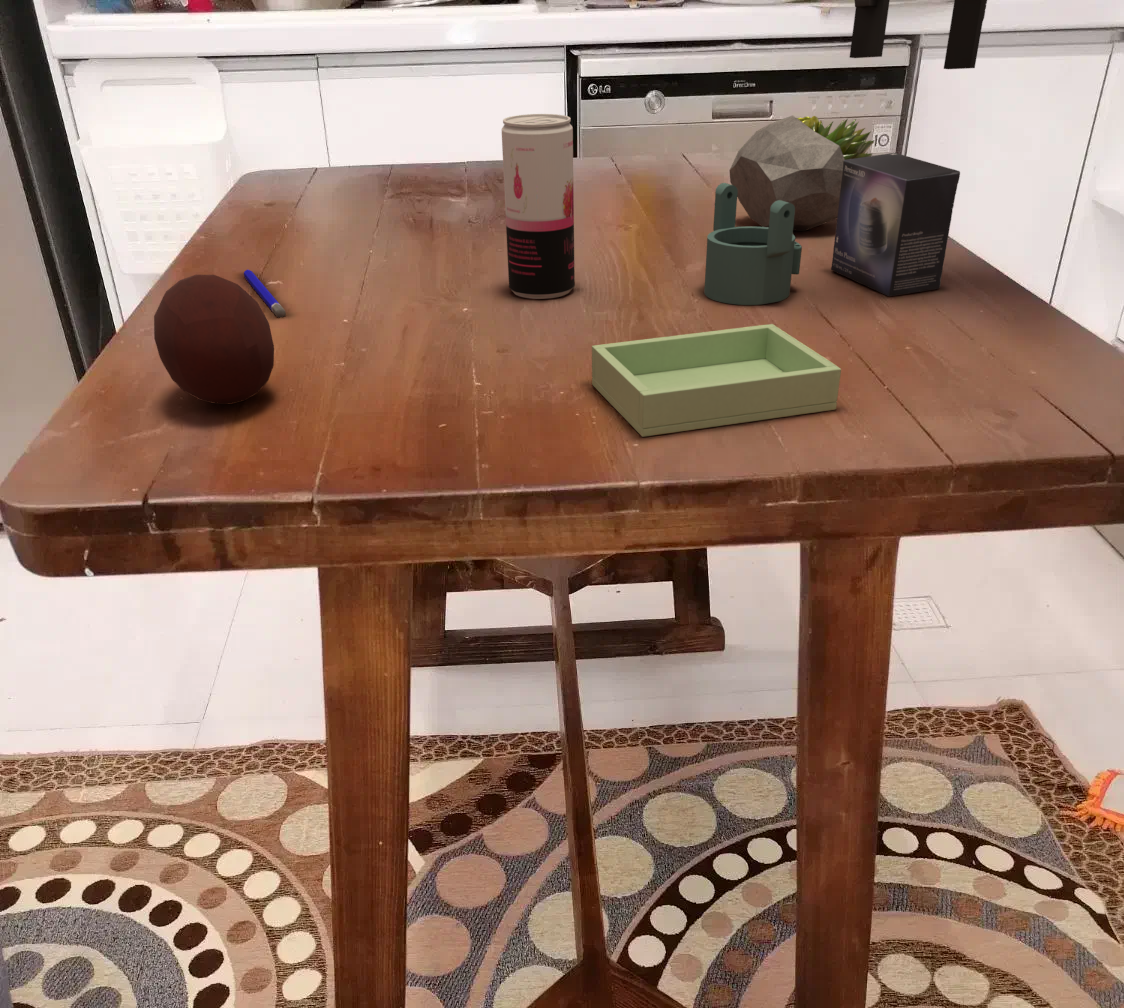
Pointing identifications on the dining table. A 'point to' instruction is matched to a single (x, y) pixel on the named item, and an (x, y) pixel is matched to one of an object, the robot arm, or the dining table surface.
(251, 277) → the pencil
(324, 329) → the dining table surface
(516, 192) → the beverage can
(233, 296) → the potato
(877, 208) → the small box
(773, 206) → the bracket
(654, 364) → the tray
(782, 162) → the potted plant
